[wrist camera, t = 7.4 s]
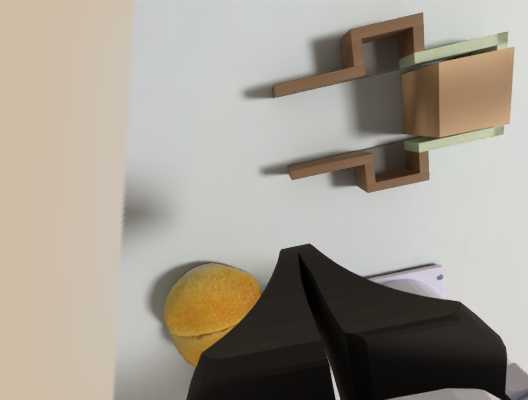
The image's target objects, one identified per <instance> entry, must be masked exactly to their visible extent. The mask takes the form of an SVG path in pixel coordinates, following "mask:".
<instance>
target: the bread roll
mask: <svg viewBox="0 0 528 400" xmlns="http://www.w3.org/2000/svg"><path fill="white" fill-rule="evenodd" d="M260 296H261V291H260V287H259V285H258V283H257V281H256V279H255V278H254V277H253V276H252V275H250V274H249V273H247V272H245V271H242V270H239V269H236V268H233V267H230V266H225V265H221V264H216V263H209V264H204V265H200V266H197V267H195V268H193V269H191V270H189V271H188V272H187V273H186V274H184V275H183V276H182V277H181V278H180V279H179V280H178V281H177V282H176V283H175V284H174V285H173V287H172V289H171V290H170V292H169V294H168V296H167V299H166V301H165V308H164V313H163V317H164V322H165V325H166V327H167V329H168V330H169V332H170V334H171V336H172V338H173V341H174V343H175V345H176V347H177V350H178V352H179V353H180V354H181V355H182V356H183V358H184V359H185V360H186V361H187V362H188V363H189V364H191V365H193V366H195V367H196V366H197V364H198V361H199V358H200V355H201V353H202V352H203V351H205V350H206V349H207V348H209V347H210V346H211V345H213V344H214V343H215V342H217V341H218V340H219V339H221V338H222V337H223V336H224V335H226V334H227V333H228V332H229V331H230V330H231V329H232V328H234V327H235V326H236V325H237V324H238V323H239V322H240V321H241V320H242V319H243V318H244V317H245V316H246V315H247V313H248V312H249V311H250V310H251V309H252V307H253V306H254V305H255V304H256V302H257V301H258V299H259V298H260Z"/></svg>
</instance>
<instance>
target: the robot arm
mask: <svg viewBox="0 0 528 400" xmlns="http://www.w3.org/2000/svg"><path fill="white" fill-rule="evenodd" d="M438 275H440V276H439V277H437V276H438ZM325 350H326V352H325ZM326 353H327V355H326ZM327 356H328V359H329V362H330V365H331V368H332V371H333V375H334V378H335V382H336V385H337V389H338V392H339V396H340V400H528V374H527V373H526V372H524V371H523V370H522V369H521V368H520V367H519V366H518V365H517V364H516V363H511V362H510V361H509V360H508V359H507V353H506V347H505V345H504V343H503V341H502V339H501V337H500V336H499V335H498V334H497V333H496V332H494V331H493V330H492V329H491V328H490V327H489V326H488V325H487V324H486V323H485V322H484V321H482V320H481V319H480V318H479V317H478V316H477V315H476V314H475V313H473V312H472V311H471V310H470V309H468V308H467V307H466V306H465V305H463V304H462V303H461V302H458V301H452V300H446V278H445V268H444V267H442V266H441V265H433V266H428V267H423V268H418V269H413V270H408V271H403V272H398V273H393V274H388V275H383V276H378V277H373V278H368V279H366V278H363V277H361V276H359V275H357V274H355V273H353V272H351V271H349V270H347V269H345V268H343V267H342V266H340V265H338V264H337V263H335V262H334V261H332V260H331V259H329V258H328V257H327V256H325V255H324V254H323V253H321V252H320V251H319V250H317V249H316V248H315V247H314V246H313V245H311V244H305V245H300V246H295V247H290V248H286V249H282V250H281V251H280V253H279V258H278V261H277V265H276V267H275V270H274V272H273V275H272V277H271V279H270V281H269V283H268V285H267V287H266V288H265V290H264V292H263V293H262V295H261V297H260V298H259V299H258V301H257V302H256V304H255V305H254V306H253V307H252V309H251V310H250V311H249V312H248V313H247V315H246V316H245V317H244V318H243V319H242V320H241V321H240V322H239V323H238V324H237V325H236V326H235V327H234V328H232V329H231V330H230V331H229V332H228V333H227V334H226V335H224V336H223V337H222V338H221V339H219V340H218V341H217V342H215V343H214V344H213V345H211V346H210V347H209V348H207V349H206V350H205V351H203V352H202V353H201V355H200V358H199V361H198V364H197V366H196V368H195V371H194V374H193V377H192V380H191V383H190V387H189V391H188V395H187V399H186V400H335V394H334V389H333V384H332V378H331V373H330V367H329V363H328V359H327Z"/></svg>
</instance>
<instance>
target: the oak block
mask: <svg viewBox="0 0 528 400" xmlns="http://www.w3.org/2000/svg"><path fill="white" fill-rule="evenodd" d="M513 61H514V47H511V48H506V49H501V50H496V51H492V52H487V53H482V54H477V55H473V56H468V57H463V58H458V59H453V60H449V61H444V62H439V63H436V64H433V65H430V66H427V67H423V68H420V69H417V70H414V71H411V72H408V73H404V74H401V76H402V98H403V120H404V134H408V135H419V136H429V137H445V136H450V135H455V134H460V133H465V132H470V131H475V130H479V129H484V128H489V127H494V126H499V125H504V124H509V123H510V109H511V93H512V77H513Z"/></svg>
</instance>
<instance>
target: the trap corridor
mask: <svg viewBox="0 0 528 400" xmlns="http://www.w3.org/2000/svg"><path fill="white" fill-rule="evenodd" d="M507 42H508V32H503V33H499V34H495V35H490V36H486V37H482V38H477V39H473V40H469V41H464V42H460V43H455V44H451V45H447V46H442V47H438V48H434V49H429V50H425V51H424V25H423V12H422V13H418V14H414V15H410V16H405V17H401V18H397V19H393V20H388V21H384V22H380V23H375V24H371V25H367V26H363V27H358V28H354V29H350V30H349V31H348V32H347V33H346V34H345V35H344V36H343V37H342V38H341V39H340V43H341V52H342V60H343V69H342V70H338V71H334V72H329V73H325V74H320V75H316V76H312V77H307V78H303V79H299V80H294V81H290V82H286V83H281V84H277V85H274V86H273V88H272V90H273V95H274V98H277V97H281V96H285V95H290V94H294V93H299V92H303V91H307V90H312V89H316V88H320V87H325V86H329V85H334V84H338V83H342V82H347V81H351V80H356V79H360V78H364V77H369V76H373V75H378V74H382V73H386V72H391V71H395V70H399V69H404V68H408V67H413V66H417V65H421V64H426V63H430V62H435V61H439V60H443V59H448V58H452V57H457V56H461V55H465V54H470V53H471V56H473V55H477V54H482V53H487V52H492V51H496V50H501V49H506V48H507ZM503 134H504V125H499V126H494V127H489V128H484V129H479V130H475V131H470V132H465V133H460V134H455V135H450V136H445V137H429V136H424V137H420V138H415V139H410V140H406V141H401V142H397V143H392V144H387V145H383V146H378V147H374V148H369V149H365V150H360V151H355V152H351V153H346V154H342V155H337V156H332V157H328V158H323V159H319V160H314V161H310V162H305V163H300V164H296V165H291V166H287V168H288V173H289V176H290V177H291V179H292V180H295V179H299V178H304V177H309V176H313V175H318V174H322V173H327V172H332V171H336V170H341V169H346V168H350V167H355V171H356V179H357V186H358V187H360V188H361V189H363V190H364V191H366V192H367V193H370V192H374V191H379V190H384V189H388V188H393V187H398V186H402V185H407V184H412V183H417V182H421V181H426V180H429V158H428V151H429V150H433V149H438V148H443V147H447V146H452V145H457V144H461V143H466V142H470V141H475V140H480V139H484V138H489V137H494V136H498V135H503Z"/></svg>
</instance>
